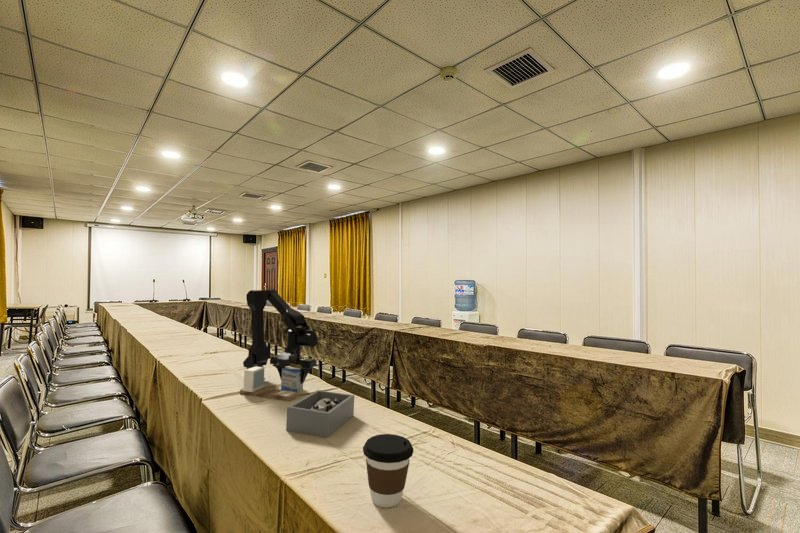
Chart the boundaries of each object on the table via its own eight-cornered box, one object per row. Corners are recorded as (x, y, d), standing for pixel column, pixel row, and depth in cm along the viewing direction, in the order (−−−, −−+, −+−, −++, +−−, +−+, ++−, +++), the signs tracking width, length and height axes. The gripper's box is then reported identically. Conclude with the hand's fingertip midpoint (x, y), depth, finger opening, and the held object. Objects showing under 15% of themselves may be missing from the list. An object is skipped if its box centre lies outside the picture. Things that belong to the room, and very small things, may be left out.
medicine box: (280, 389, 156) (281, 368, 156) (286, 386, 160) (287, 366, 160) (297, 392, 153) (298, 370, 154) (303, 389, 158) (304, 368, 158)
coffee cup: (410, 486, 88) (412, 433, 88) (413, 516, 77) (415, 455, 77) (362, 485, 87) (364, 432, 88) (358, 515, 76) (361, 454, 77)
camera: (330, 415, 130) (330, 389, 130) (346, 421, 125) (346, 393, 125) (299, 429, 120) (298, 401, 119) (315, 436, 115) (314, 406, 115)
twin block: (243, 390, 148) (244, 370, 148) (255, 386, 154) (256, 366, 154) (252, 392, 146) (253, 371, 147) (264, 387, 153) (265, 367, 153)
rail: (239, 393, 149) (240, 389, 149) (249, 389, 154) (250, 385, 154) (289, 401, 142) (289, 396, 142) (297, 396, 148) (298, 392, 148)
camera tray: (286, 430, 116) (287, 407, 116) (316, 410, 134) (317, 390, 134) (327, 437, 112) (328, 413, 112) (353, 415, 130) (354, 395, 130)
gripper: (262, 345, 152) (260, 384, 152) (303, 349, 147) (301, 390, 146) (278, 341, 163) (277, 378, 162) (317, 345, 158) (316, 383, 157)
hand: (292, 382), depth 157 cm, fingers open, 9 cm apart
